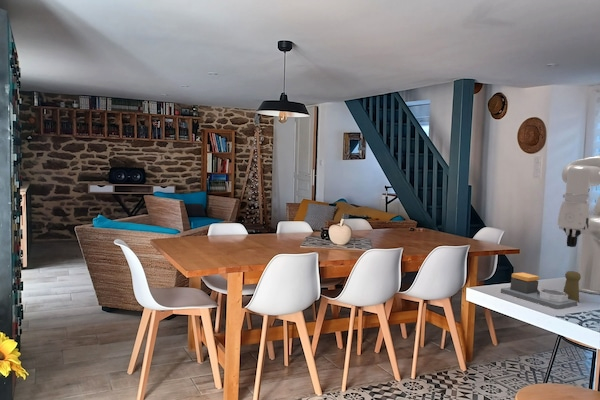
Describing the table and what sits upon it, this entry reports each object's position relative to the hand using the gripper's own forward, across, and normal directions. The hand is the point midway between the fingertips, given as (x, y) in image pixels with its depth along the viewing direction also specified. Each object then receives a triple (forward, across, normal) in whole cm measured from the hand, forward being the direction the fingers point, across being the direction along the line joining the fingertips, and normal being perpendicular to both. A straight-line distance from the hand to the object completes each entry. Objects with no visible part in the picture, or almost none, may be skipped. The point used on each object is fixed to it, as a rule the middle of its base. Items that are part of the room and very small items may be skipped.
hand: (571, 246), depth 191 cm
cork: (+21, +2, 0) cm, 21 cm away
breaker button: (+17, -9, -12) cm, 23 cm away
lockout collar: (+19, +2, -11) cm, 22 cm away
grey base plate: (+20, -4, -12) cm, 24 cm away
